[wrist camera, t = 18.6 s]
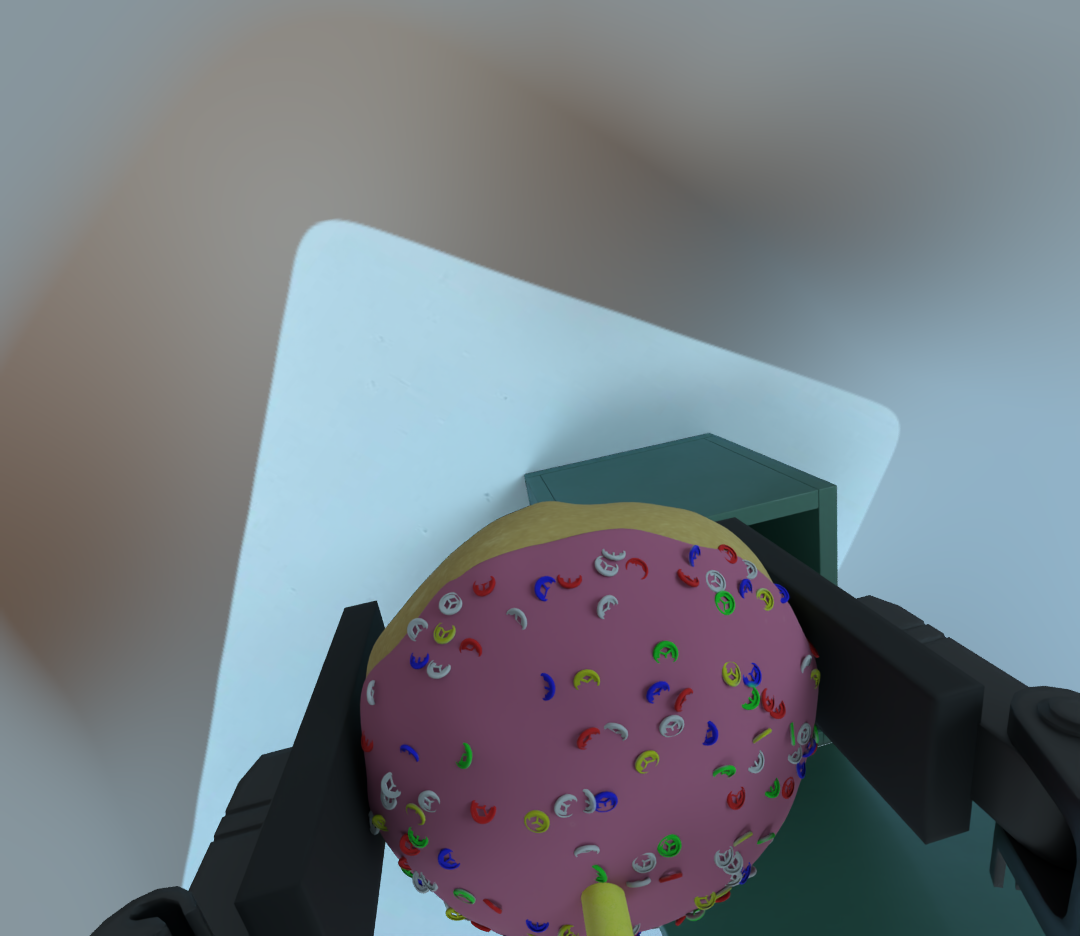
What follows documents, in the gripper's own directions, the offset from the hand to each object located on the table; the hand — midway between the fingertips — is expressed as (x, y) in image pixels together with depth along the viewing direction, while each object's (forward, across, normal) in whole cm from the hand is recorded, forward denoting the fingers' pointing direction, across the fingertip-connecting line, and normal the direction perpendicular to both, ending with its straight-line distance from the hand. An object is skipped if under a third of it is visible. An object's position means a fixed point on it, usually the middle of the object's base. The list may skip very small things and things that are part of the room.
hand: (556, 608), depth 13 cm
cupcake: (+1, 0, 0) cm, 1 cm away
